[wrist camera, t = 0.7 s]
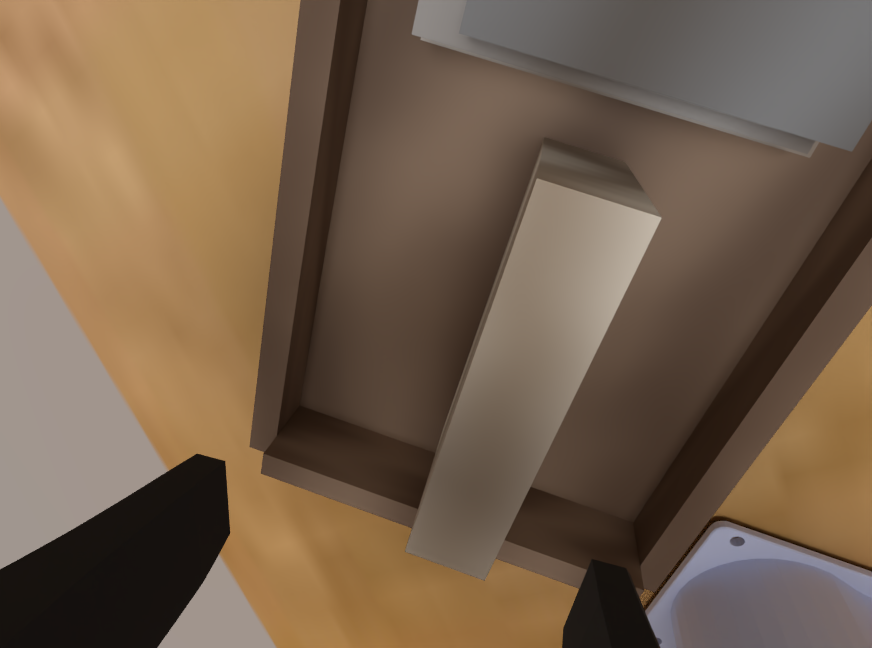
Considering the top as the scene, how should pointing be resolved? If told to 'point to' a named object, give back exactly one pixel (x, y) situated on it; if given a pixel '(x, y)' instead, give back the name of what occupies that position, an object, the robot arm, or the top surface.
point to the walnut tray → (476, 271)
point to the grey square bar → (687, 58)
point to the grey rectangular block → (531, 349)
